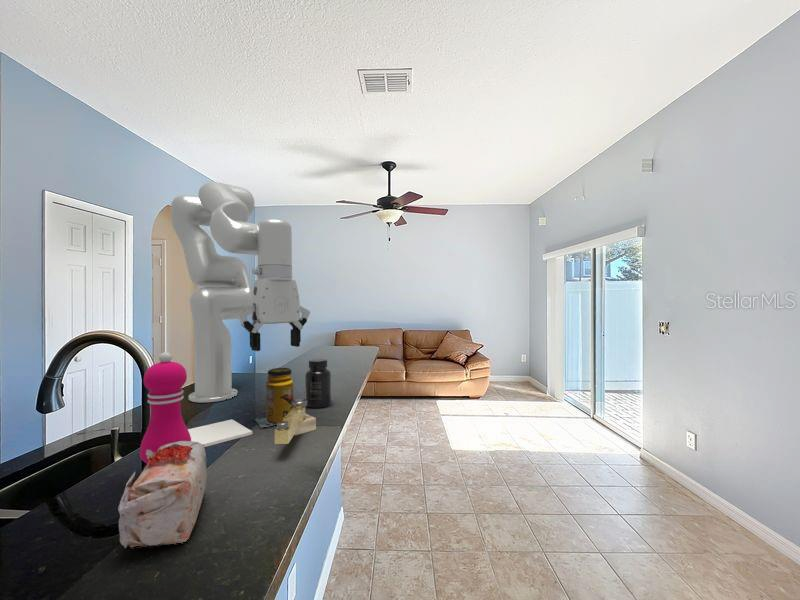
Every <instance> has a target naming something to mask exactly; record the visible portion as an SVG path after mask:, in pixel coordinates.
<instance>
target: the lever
mask: <svg viewBox="0 0 800 600" xmlns="http://www.w3.org/2000/svg"><path fill="white" fill-rule="evenodd" d="M292 407H293V408H292V409H291V410H290V412H289V413H288V414H287V415H286V417H285V418H284V419H283V421H281V422H278V423H277V426H276V428H275V429H274V445H287V444H288V445H289V443H290V442H291V440H292V439H293V438H294V436H295V435H294V434H295V432H296V431H297V429H298V427H299V426H300V424H301V423H302V421H303V419H304V418H305V414H306V407H307V400H305V398H298V399H293V401H292Z"/></svg>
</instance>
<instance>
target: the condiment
mask: <svg viewBox="0 0 800 600" xmlns="http://www.w3.org/2000/svg"><path fill="white" fill-rule="evenodd" d="M265 383H266V384H265V401H266V402H265V403H266V405H265V407H266V408H265V415H266V416H265V417H266V418H267V421H268V422H269V423H273V424H277V423H278V422H281V421H283V419H284V418H285V417H286V415H287V414H288V413H289V412H290V410H291V409H292V408H293V407H292V401H293V400H294V381H293V379H292V369H291V368H288V367H275V368H274V367H273V368H270V369H269V370H268V371H267V381H266V382H265ZM258 418H259V417H257V419H258Z"/></svg>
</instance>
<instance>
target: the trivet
mask: <svg viewBox="0 0 800 600" xmlns="http://www.w3.org/2000/svg"><path fill="white" fill-rule="evenodd" d="M187 429H188V431H189V433H190V436H191V441H194V442H199V443H201V444H204V445H205V446H204V448H206V447H210V446H214V445H217V444H218V445H219V444H221V443H222V444H223V443H225V442H229V441H232V440H237V439H240V438H244V437H247V436H251V435H253V430H251V429H249V428H247V427H245V425H242V424H241V423H239V422H237V421H236V420H234V419H227V420H224V421H217V422H214V423H210V424H205V425H202V426H198V427H197V426H196V427H193V428H187Z"/></svg>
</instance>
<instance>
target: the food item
mask: <svg viewBox="0 0 800 600" xmlns="http://www.w3.org/2000/svg"><path fill="white" fill-rule="evenodd" d="M204 446H205V445H204V444H201V443H199V442H194V441H178V442H174V443H169V444H165V445H163V446H161V447H160V448H159V449H158V451H157V452H152V451H151V450H149V451H148V450H147V451H146V455H147V457H148V458H147V459H149V460H148V462H149V463H148V464H146V465H147V466H146V465H145V466H146V467H145V466H144V467H145V468H144V467H143V470H142V471H141V473H140V475H139V476H138V478H137V479H136V480H135V477H136V476H135V475H136V471H134V472H133V473H132V475H131V476H130V477H129V479H128V481H127V482H126V483H125V488H124V490H123V494H122V496H121V499H120V501H119V504H118V507H117V510H118V513H119V519H118V531H119V543H120V544H121V546H123V547H124V549H126V548H127V547H128V546H129V547H130V548H131V547H135V546H143V545H144V546H145V545H149V546H151V545H158V544H174V545H177V544H176V543H181V544H184V543H183V542H186V541H187V540H188V541H189V539H190V537H191V534H192V532H193V530H194V527H195V525H196V522H197V518H198V515H199V513H200V512H199V511H200V509H201V505H202V502H203V499H204V495H205V491H206V487H207V481H208V480H207V479H208V475H207V474H208V472H207V471H208V470H207V456H206V454H207V453H206V452H207V451H206V449H205V448H206V447H204ZM149 457H150V458H149ZM133 480H135V481H134V482H133ZM132 483H133V484H132ZM188 541H187V542H188Z"/></svg>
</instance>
